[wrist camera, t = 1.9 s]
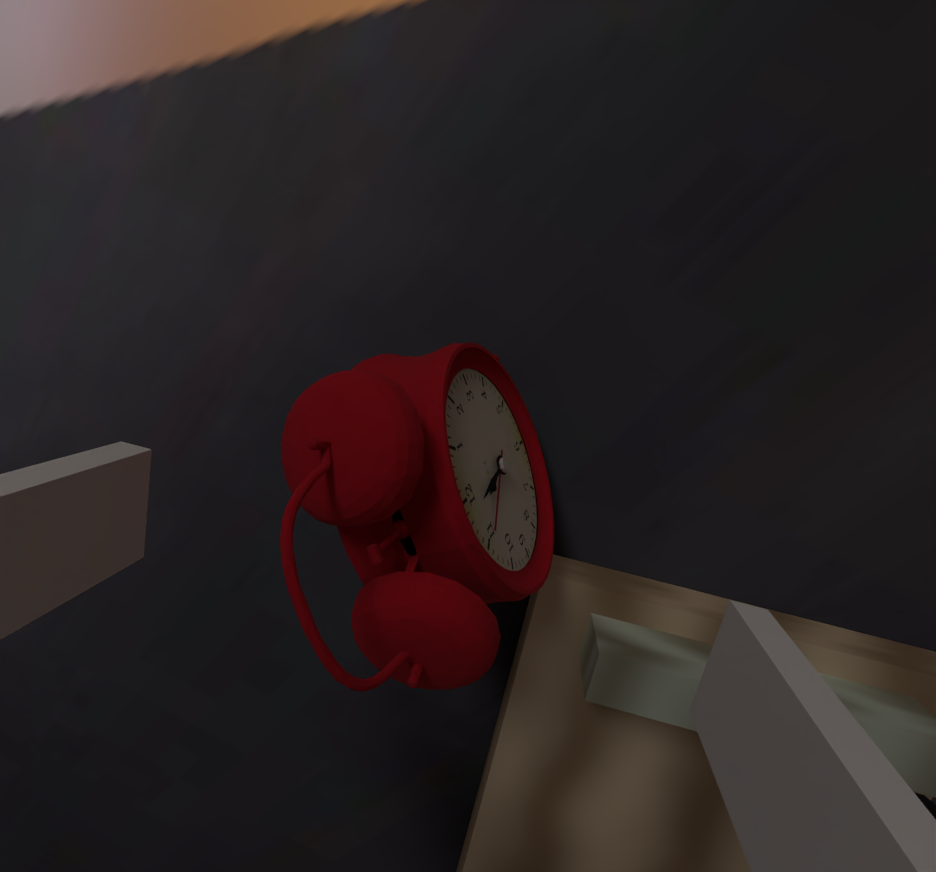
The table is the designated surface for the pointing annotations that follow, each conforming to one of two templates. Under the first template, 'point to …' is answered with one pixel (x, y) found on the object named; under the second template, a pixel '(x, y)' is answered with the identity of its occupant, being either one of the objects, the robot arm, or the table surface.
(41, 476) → the robot arm
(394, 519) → the alarm clock
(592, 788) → the display stand
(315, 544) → the table surface
